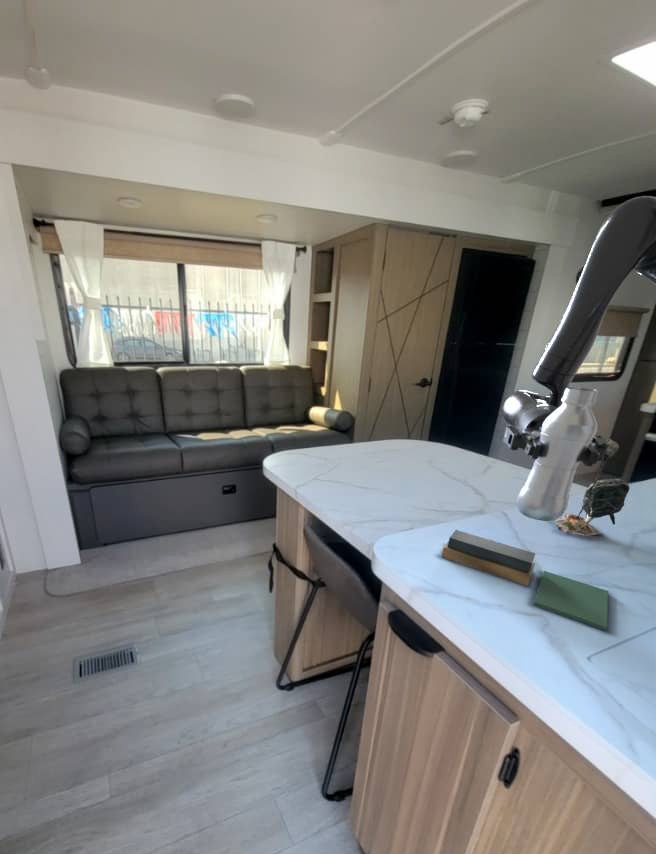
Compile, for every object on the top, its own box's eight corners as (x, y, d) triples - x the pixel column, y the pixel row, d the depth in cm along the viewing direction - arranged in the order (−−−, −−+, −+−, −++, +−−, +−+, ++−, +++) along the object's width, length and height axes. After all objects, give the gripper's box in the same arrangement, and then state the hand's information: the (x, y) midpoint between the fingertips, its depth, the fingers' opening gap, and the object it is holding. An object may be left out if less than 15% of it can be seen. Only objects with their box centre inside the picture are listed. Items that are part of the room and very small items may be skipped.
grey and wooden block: (532, 572, 70) (539, 553, 69) (527, 586, 67) (535, 565, 65) (449, 546, 78) (453, 527, 76) (441, 556, 74) (445, 537, 72)
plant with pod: (619, 545, 80) (665, 447, 71) (553, 533, 84) (589, 438, 75) (607, 527, 87) (647, 436, 78) (546, 517, 90) (578, 428, 82)
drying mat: (606, 593, 65) (608, 590, 65) (605, 630, 57) (607, 627, 57) (542, 573, 70) (543, 570, 70) (533, 604, 62) (534, 601, 62)
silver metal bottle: (515, 504, 69) (554, 383, 60) (562, 515, 66) (611, 388, 57) (510, 518, 65) (551, 389, 56) (560, 530, 61) (612, 395, 52)
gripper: (504, 403, 73) (515, 424, 59) (600, 412, 68) (636, 437, 54) (493, 443, 76) (501, 472, 62) (583, 454, 71) (613, 488, 57)
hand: (563, 455), depth 58 cm, fingers closed on silver metal bottle, 6 cm apart
